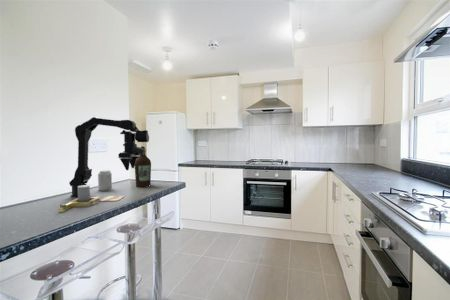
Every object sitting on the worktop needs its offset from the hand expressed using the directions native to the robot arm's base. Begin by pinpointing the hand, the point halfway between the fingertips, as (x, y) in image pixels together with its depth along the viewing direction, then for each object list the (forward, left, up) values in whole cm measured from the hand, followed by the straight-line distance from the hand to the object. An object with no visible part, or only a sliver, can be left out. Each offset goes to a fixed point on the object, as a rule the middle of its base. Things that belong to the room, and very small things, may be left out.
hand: (130, 169), depth 128 cm
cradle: (-16, -16, -15) cm, 27 cm away
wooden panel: (-6, -10, -15) cm, 19 cm away
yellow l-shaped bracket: (-16, -25, -15) cm, 34 cm away
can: (-20, +14, -15) cm, 29 cm away
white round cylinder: (-16, -18, -15) cm, 28 cm away
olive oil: (+1, +23, -15) cm, 27 cm away
